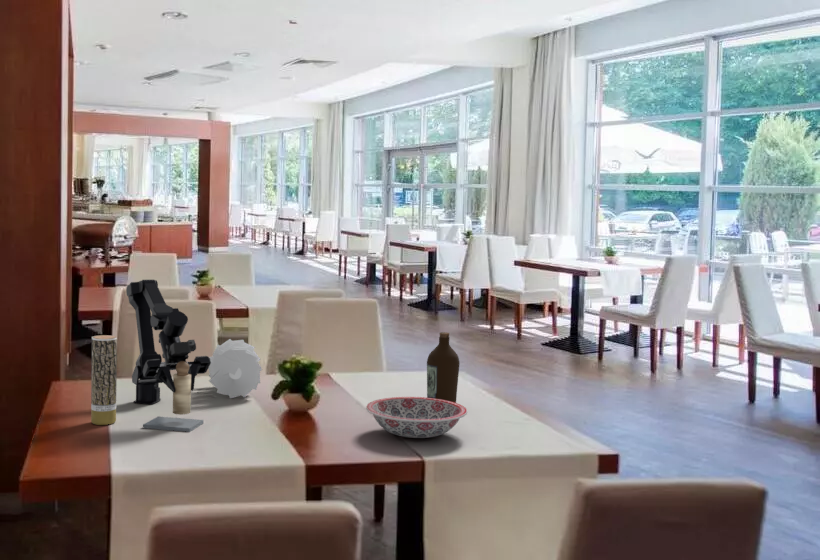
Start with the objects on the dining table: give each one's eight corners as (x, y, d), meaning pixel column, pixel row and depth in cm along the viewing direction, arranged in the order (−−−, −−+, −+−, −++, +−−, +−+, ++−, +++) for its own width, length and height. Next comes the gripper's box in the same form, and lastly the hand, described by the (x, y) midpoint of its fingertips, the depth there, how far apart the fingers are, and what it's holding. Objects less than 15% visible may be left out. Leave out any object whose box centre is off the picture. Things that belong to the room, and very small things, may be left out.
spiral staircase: (245, 396, 316) (248, 409, 291) (199, 375, 312) (198, 386, 287) (268, 350, 317) (273, 359, 292) (223, 328, 313) (224, 335, 289)
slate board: (142, 428, 253) (142, 424, 253) (158, 419, 263) (158, 416, 263) (189, 431, 251) (189, 428, 251) (203, 423, 261) (203, 420, 260)
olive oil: (448, 404, 298) (452, 330, 296) (463, 411, 288) (466, 335, 286) (419, 405, 294) (422, 330, 291) (433, 413, 284) (436, 335, 282)
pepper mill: (169, 412, 257) (170, 360, 255) (183, 409, 261) (184, 358, 259) (179, 415, 254) (181, 363, 252) (194, 412, 258) (195, 361, 256)
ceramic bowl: (392, 453, 237) (393, 424, 237) (349, 427, 263) (349, 400, 262) (485, 443, 251) (486, 415, 250) (435, 419, 277) (436, 393, 276)
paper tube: (121, 422, 259) (122, 336, 256) (104, 427, 252) (104, 339, 250) (103, 418, 261) (104, 334, 259) (85, 423, 255) (86, 337, 253)
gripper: (146, 332, 253) (158, 377, 245) (209, 328, 263) (222, 372, 255) (137, 354, 260) (148, 399, 252) (199, 350, 271) (211, 394, 263)
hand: (183, 390), depth 256 cm, fingers closed on pepper mill, 5 cm apart
